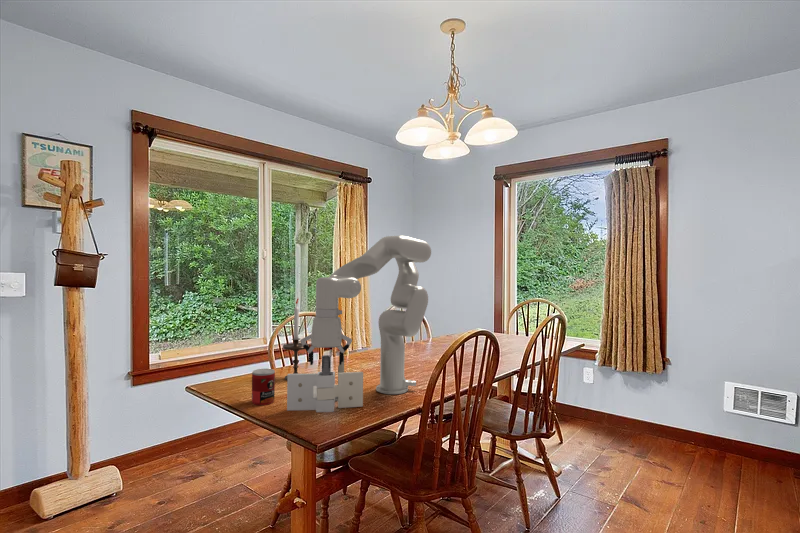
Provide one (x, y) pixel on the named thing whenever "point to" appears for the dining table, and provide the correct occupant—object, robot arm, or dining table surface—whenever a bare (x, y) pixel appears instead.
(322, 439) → the dining table surface
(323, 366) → the pin
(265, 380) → the canned food
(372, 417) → the dining table surface
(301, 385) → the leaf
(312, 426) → the dining table surface
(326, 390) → the leaf
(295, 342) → the candlestick
